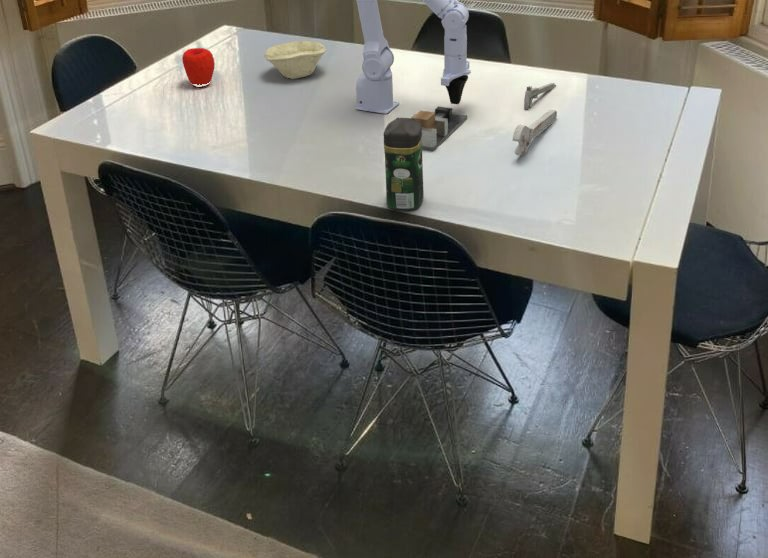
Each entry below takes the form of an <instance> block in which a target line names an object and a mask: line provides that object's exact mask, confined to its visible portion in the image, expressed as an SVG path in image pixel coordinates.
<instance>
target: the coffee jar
mask: <svg viewBox="0 0 768 558" xmlns="http://www.w3.org/2000/svg"><path fill="white" fill-rule="evenodd" d="M383 150H384V152H383V153H384V169H385V191H386V192H385V193H386V197H385V199H386V205H387V206H388V208H390V209H392V210H393V209H394V210H396V211H402V212H403V211H409V210H410V211H411V210H417V208H419V207H420V205H422V202H423V199H424V194H425V193H424V174H423V173H424V171H423V167H424V166H423V149H422V127H421V124H420V123H419V122H418V121H417V120H415V119H414V118H412V117H396V118H395V119H393V120H391V121H390V122H389V123H388V124H387V125H386V127H385V129H384V131H383Z"/></svg>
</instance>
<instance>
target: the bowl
mask: <svg viewBox="0 0 768 558" xmlns="http://www.w3.org/2000/svg"><path fill="white" fill-rule="evenodd" d="M325 52H327V49H326V47H325V45H324V44H322V43H320V42H318V41H317V42H315V41H310V40H298V41H297V40H296V41H289V42H284V43H283V42H282V43H278V44H275V45H272V46H270V47H269V48H268V49H266V50H265V51H264V54H263V57H264V59H265V60H266V61H268V62H269V63H270V64H271V65H272V66H273V67H275V68H276V69H277V70H278V72H280V73H281V75H282V76H283V77H284V76H285V77H284V78H286V77H287V78H286V79H288V78H291V79H290V80H296V79H300V78H304V77H305V78H307V77H308V76H311V75H312V74H313V73H314V72H315V69H316V67H317V64H318V63H319V61H320V60H321V58H322V56H323V55H324V54H325Z"/></svg>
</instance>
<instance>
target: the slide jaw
mask: <svg viewBox="0 0 768 558" xmlns="http://www.w3.org/2000/svg"><path fill="white" fill-rule="evenodd" d="M434 112H435V129H437V135H439V136H446V135H447V134H448V122H450V121H451V120H452V114H453V113H454V112H453V108H451V107H444V106H437V107H436V108H435V109H434ZM416 114H417V113H414V114H413V115H412V116H411V118H412V117H413V116H415V115H416Z"/></svg>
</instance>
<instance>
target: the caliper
mask: <svg viewBox="0 0 768 558" xmlns="http://www.w3.org/2000/svg"><path fill="white" fill-rule="evenodd" d="M555 87H557V85H556V84H555V83H554V82H550V83H548V84H546V85H545V84H544V85H542V86H540V87H533V86H530V85H528V86H526V91H524V100H523V101H524V103H523V109H524V110H526V111H527V110H528V111H529V109H531V108H532V104H533V101H534V100H533V99H538V95H541V94H543V93H546V92H549V91H552V90H554V88H555ZM551 89H552V90H551Z"/></svg>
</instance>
